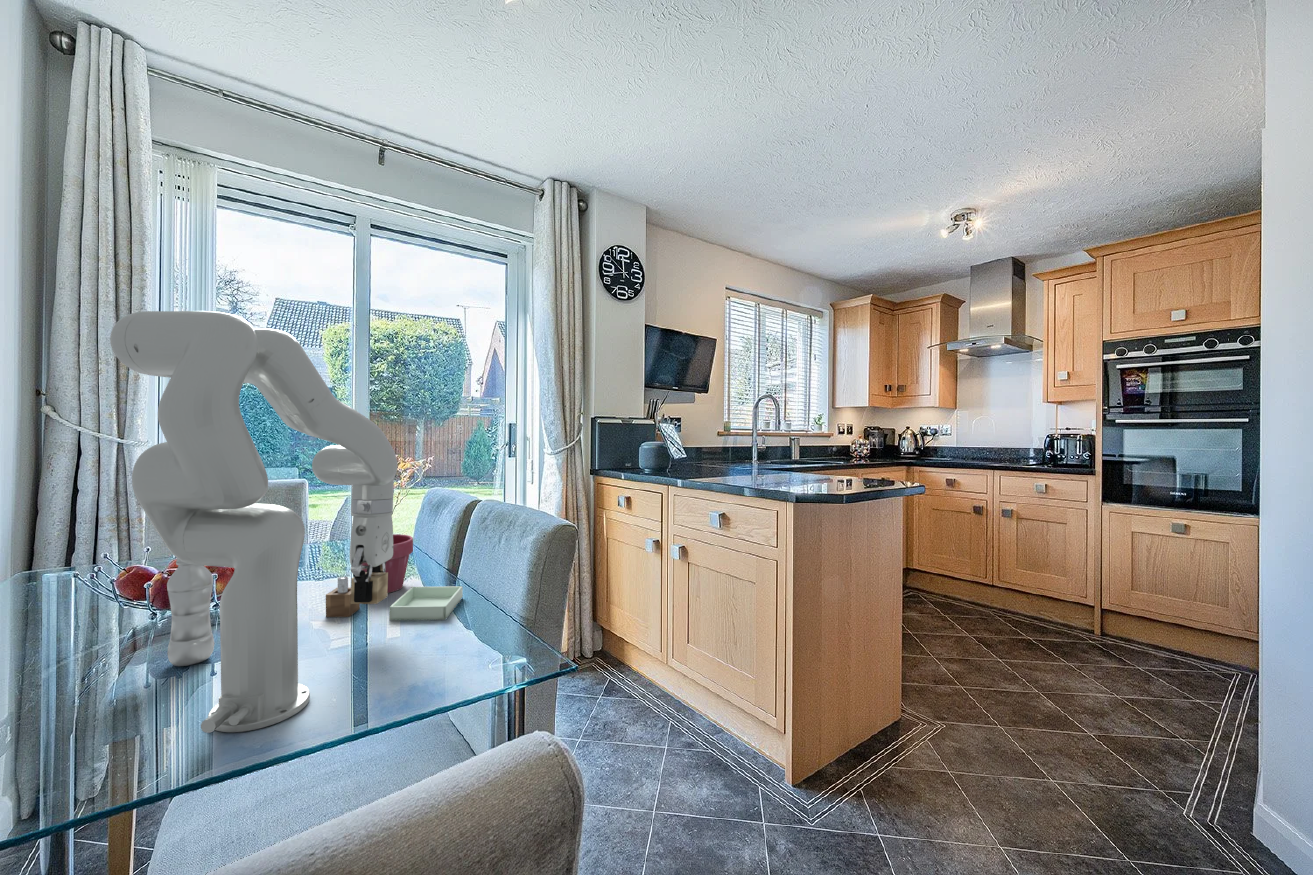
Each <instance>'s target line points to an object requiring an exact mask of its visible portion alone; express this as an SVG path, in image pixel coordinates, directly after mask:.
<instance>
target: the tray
mask: <svg viewBox="0 0 1313 875" xmlns="http://www.w3.org/2000/svg"><path fill="white" fill-rule="evenodd" d="M463 591H464V590H463V586H452V585H451V586H449V585H448V586H411V587H410V588H409V589H407V591H405V592H404V594H402V595H401V596H400V597H399V598H398V599H396V600H395V601H394V602H393V603H392V604H391V605H390V606H388V607H389V608H388V611H389V613H388V614H389V619H388V620H389V621H446V620H447V619H446V618H448V617H449V616H450V615H451V614H452V613H453V611H454V610H455V609H456V607H457V606H458V605H459V604H460V603H461V601H462V600H461V598H462V597H463V594H464V593H463ZM462 599H463V598H462ZM460 600H461V601H460ZM458 603H459V604H458ZM457 604H458V605H457ZM456 605H457V606H456ZM454 608H455V609H454ZM450 613H451V614H450ZM445 619H446V620H445Z"/></svg>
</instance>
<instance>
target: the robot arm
mask: <svg viewBox="0 0 1313 875" xmlns="http://www.w3.org/2000/svg"><path fill="white" fill-rule="evenodd" d="M109 341H110V347H111V350H112V352H113V354H114V356H115V357H116V358H117V359H118V360H119V361H120V362H121V363H122V364H123V365H124V366H125V367H127V368H129V369H130V370H132V371H134V372H137V373H140V374H143V375H146V376H153V377H161V378H169V380H168V383H167V385H166V386H165V389H164V391H163V393H162V395H161V397H160V399H159V403H158V407H157V420H158V424H159V427H160V429H161V432H162V435H163V436H164V438H165V440H166V441H163V442H160V443H157V444H155V445H152V446H150V447H148V448H147V449H146V450H144V451H143V452H142V453H141V454H140V455H139V456H138V458H137V459H136V461H135V463H134V465H133V469H132V474H131V484H132V489H133V493H134V495H135V498H136V499H137V502H138V503H139V505H140V507H141V509H142V511H143V512H144V513H145V514H146V516H147V518H148V519H149V521H150V523H151V524H152V526H153V527H154V529H155V531H156V533H158V536H159V537H160V538H161V540H162V542H163V543H164V544H165V546H166V548H167V549H168V550H169V551H170V553H171V554H172V555H173V556H174V557H175V558H176V559H177V558H178V559H179V560H181V561H183V562H185V563H188V564H193V565H202V566H205V567H222V568H223V567H224V568H231V569H234V571H233V574H232V576H231V577H230V579H229V580H228V581H227V584H226V585H225V587H224V589H223V591H222V594H221V597H220V600H219V624H220V625H219V627H220V628H219V632H220V633H219V634H220V636H219V637H220V684H221V685H220V692H221V693H220V695H221V696H219V697H218V703H216V704H215V705H214V706H213V707H212V708H211V709H210V710H209V712H208V714H207V718H205V719H204V720H202V722H201V723H200V730H201V731H202V732H204V733H207V734H210V733H212V732H214V731H217V732H222V733H241V732H250V731H255V730H260V729H262V728H266V727H270V726H272V725H275V724H278V723H280V722H283V721H285V720H287V719H289V718H290V717H293V716H295V715H296V714H297V713H299V712H301V711H302V710H303V709H305V707H306V706H307V705H308V704H309V702H310V698H311V692H310V688H309V687H307V686H306V685H303V684H302V683H299V652H298V651H299V647H298V646H299V641H298V640H299V637H298V636H299V635H298V634H299V633H298V627H299V626H298V578H299V577H298V575H299V566H300V560H301V555H302V552H303V551H302V550H303V546H304V542H305V534H306V529H305V525H304V524H305V523H304V522H303V519H302V518H301V517H300V515H299V513H297V512H295V511H294V510H293V509H291V508H288V507H285V506H282V505H278V504H273V503H271V504H270V503H259V502H260V500H262V499H263V498H264V496H265V495H266V494H267V491H268V488H269V477H268V474H267V470H266V469H267V468H266V467H265V464H264V463H263V460H262V457H261V456H260V453H259V452H258V450H257V447H256V445H255V443H254V441H253V439H252V437H251V434H250V432H249V430H248V428H247V425H246V424H245V423H246V422H245V420H244V418H243V415H242V413H241V409H240V396H241V394H240V393H241V390H242V388H243V385H244V384H251V385H253V386H255V387H256V388H257V390H258V391H259V392H260V393H261V395H262V396H263V397H264V399H265V400H266V401H267V402H268V404H270V406H271V408H272V409H273V410H274V411H275V413H276V414H277V415H278V417H279V418H280V419H281V421H282V422H283V423H284V424H285V425H286V426H287V427H289V428H290V429H292V430H294V431H297V432H299V433H301V434H305V435H307V436H309V437H313V438H317V439H320V440H323V441H327V442H330V443H333V445H328V446H325V447H324V448H322V449H320V450H319V451H317V452H316V454H315V455H314V457H313V459H312V463H311V470H312V473H313V474H314V476H315V477H316V478H317V479H318V480H319V481H321V482H323V483H325V484H328V485H336V486H351V500H350V503H351V504H350V517H352V525H351V533H350V540H349V542H350V543H349V563H350V572H351V573H352V575H353V577H354V582H355V583H354V602H371V601H372V586H373V581H370V580H371V574H372V572H375V573H385V570H386V569H385V564H386V561H388V560H390V559H391V558H392V557H393V534H394V526H393V516H392V515H393V513H394V487H395V484H394V483H395V482H394V480H395V476H396V475H397V472H398V459H397V455H396V452H395V450H394V448H393V446H392V444H391V443H390V441H389V439H388V438H387V436H386V434H385V433H384V431H383V430H382V428H380V427H379V426H378V425H377V424H376V423H375V422H374V421H372V420H371V419H370V418H368V417H367V416H365V415H363V414H361V413H360V412H359V411H357V410H355V409H354V408H353V407H352V406H349V405H347V404H345V403H344V402H342V401H341V400H339V399H337V398H336V397H335V396H334V395H333V393H332V391H331V390H330V388H329V387H328V385H327V383H326V382H325V380H324V379H323V377H322V376H321V374H320V373H319V371H318V370H317V368H316V366H315V365H314V363H313V362H312V361H311V359H310V357H309V356H308V354H307V353H306V351H305V350H304V348H303V346H302V345H301V343H300V342H299V341H298V340H297V339H296V338H295V337H294V336H293V335H291V334H290V333H288V332H286V331H283V330H280V329H275V328H263V327H262V328H261V327H259V328H258V327H253V326H252V325H251V323H250V322H248V321H247V320H246V319H244V318H243V317H241V316H238V315H236V314H231V313H228V312H222V311H212V310H207V311H206V310H184V311H183V310H180V311H179V310H178V311H177V310H176V311H174V310H173V311H172V310H171V311H170V310H169V311H167V310H165V311H164V310H162V311H160V310H159V311H158V310H153V311H151V310H150V311H149V310H147V311H137V312H133V313H128V314H127V315H125V316H123V317H121V318H120V319H119V320H118V321H117V322H116V323H115V324H114V325H113V327H112V329H111V332H110V337H109ZM362 563H367V564H368V566H362V565H361V564H362ZM362 569H367V573H365V571H364V570H362Z"/></svg>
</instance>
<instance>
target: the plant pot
mask: <svg viewBox="0 0 1313 875" xmlns="http://www.w3.org/2000/svg"><path fill="white" fill-rule="evenodd" d="M413 552H414V539H413V537H412V535H408V534H400V533H399V534H396V533H393V557H392V558H391V559H390V560H388V561H386V564H385V569H386V570H385V573H388V589H387V594H389V593H393V592H396V591H400V590H401V589H402V588H404V586H403V585H404V582H405V579H406V578H405V577H406V572H407V568H408V564H409V558H410V555H411V554H412V553H413ZM361 565H362V566H368V564H367V563H362V564H361ZM362 570H364V571H365V572H367V569H362Z"/></svg>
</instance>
